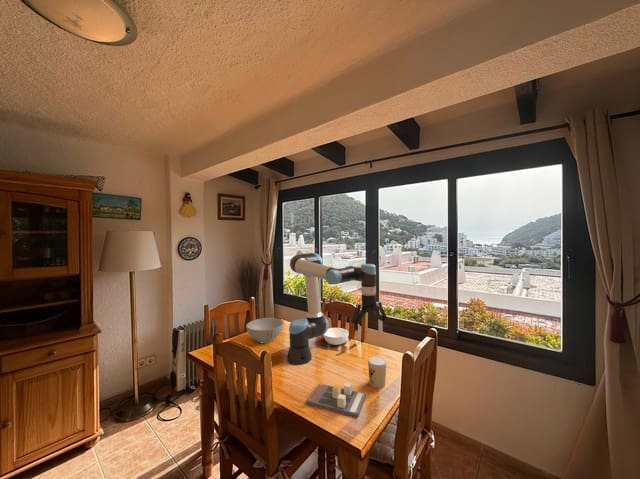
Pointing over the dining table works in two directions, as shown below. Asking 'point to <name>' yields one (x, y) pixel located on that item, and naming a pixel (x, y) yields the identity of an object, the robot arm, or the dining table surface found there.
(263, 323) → the decorative bowl
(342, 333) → the bowl
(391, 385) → the dining table surface
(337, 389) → the breaker toggle
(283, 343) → the dining table surface
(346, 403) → the breaker panel
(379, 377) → the coffee cup
